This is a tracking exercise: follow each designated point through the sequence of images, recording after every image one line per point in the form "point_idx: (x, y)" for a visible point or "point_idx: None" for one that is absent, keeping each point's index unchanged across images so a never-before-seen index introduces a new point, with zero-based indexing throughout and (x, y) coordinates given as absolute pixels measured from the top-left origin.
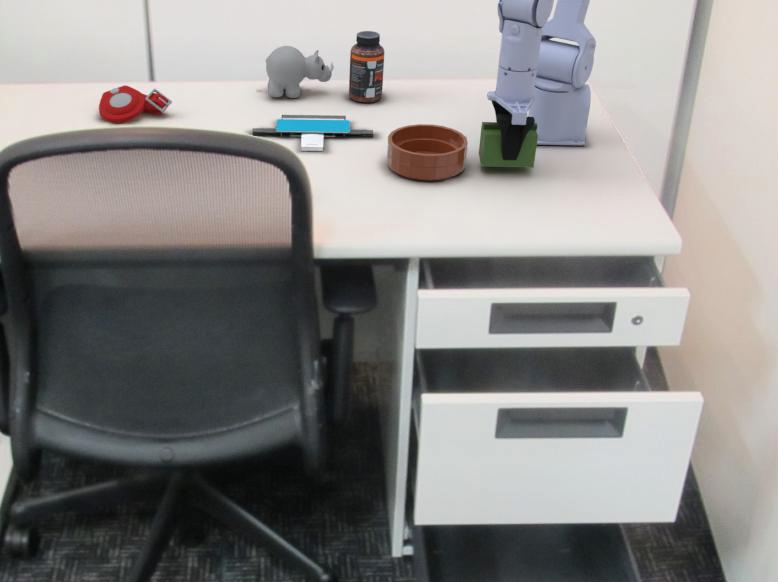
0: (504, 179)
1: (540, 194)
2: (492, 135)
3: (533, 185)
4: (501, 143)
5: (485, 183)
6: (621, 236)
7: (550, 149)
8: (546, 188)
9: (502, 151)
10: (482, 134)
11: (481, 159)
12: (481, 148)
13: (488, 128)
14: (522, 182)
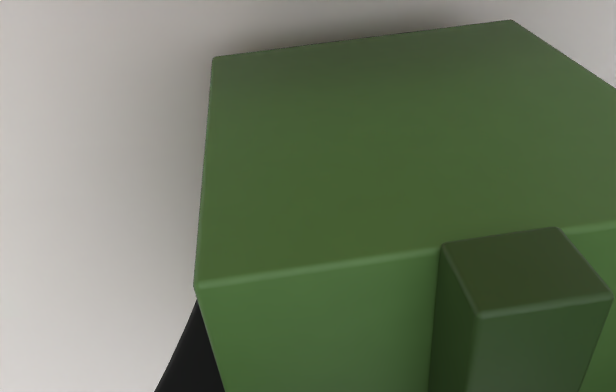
0: (173, 196)
1: (27, 366)
2: (219, 359)
3: (137, 333)
4: None
5: (48, 72)
6: None
7: None
8: (120, 380)
9: (195, 312)
10: (481, 161)
11: (272, 64)
12: (381, 86)
13: (435, 322)
14: (160, 287)
